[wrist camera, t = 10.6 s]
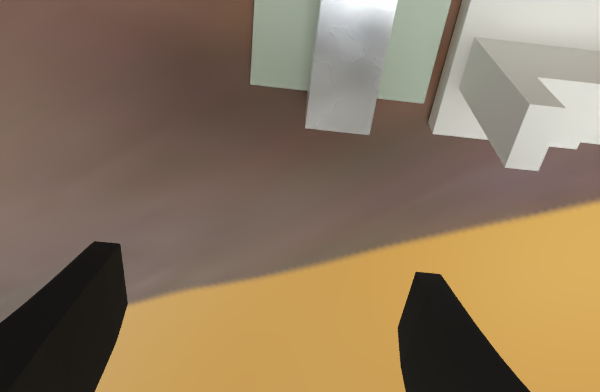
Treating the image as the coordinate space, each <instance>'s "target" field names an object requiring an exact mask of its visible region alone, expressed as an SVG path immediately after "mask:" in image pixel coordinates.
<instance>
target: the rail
mask: <svg viewBox="0 0 600 392" xmlns="http://www.w3.org/2000/svg"><path fill="white" fill-rule="evenodd" d="M397 1H398V0H318V8H317V17H316V25H315V33H314V41H313V49H312V57H311V65H310V73H309V81H308V89H307V97H306V113H305V128H307V129H317V130H326V131H335V132H345V133H354V134H363V135H369V134H370V130H371V125H372V120H373V115H374V110H375V106H376V101H377V96H378V91H379V87H380V82H381V77H382V72H383V68H384V63H385V58H386V53H387V48H388V44H389V39H390V34H391V29H392V25H393V20H394V15H395V10H396V6H397Z"/></svg>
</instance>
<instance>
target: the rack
mask: <svg viewBox="0 0 600 392" xmlns="http://www.w3.org/2000/svg"><path fill="white" fill-rule="evenodd" d="M428 124H429V126H430V129H431V131H432V134H438V135H448V136H457V137H466V138H476V139H485V140H489V142H490V143H491V145H492V147H493V148H494V150H495V152H496V153H497V155H498V157H499V159H500V160H501V162H502V164H503V165H504V167H506V168H515V169H525V170H534V171H538V170H539V168H540V166H541V164H542V161H543V159H544V157H545V155H546V152H547V150H548V148H549V146H551V147H560V148H569V149H577V148H578V145H579V143H580V142H583V143H592V144H600V0H462V2H461V6H460V10H459V13H458V17H457V20H456V24H455V27H454V31H453V35H452V38H451V42H450V45H449V49H448V53H447V56H446V60H445V63H444V67H443V71H442V74H441V78H440V81H439V85H438V88H437V92H436V96H435V99H434V103H433V106H432V110H431V114H430V117H429V121H428Z"/></svg>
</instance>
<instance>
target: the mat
mask: <svg viewBox="0 0 600 392" xmlns="http://www.w3.org/2000/svg"><path fill="white" fill-rule="evenodd" d="M450 4H451V0H398V1H397V6H396V10H395V15H394V20H393V25H392V29H391V34H390V39H389V44H388V48H387V53H386V58H385V63H384V68H383V72H382V77H381V82H380V87H379V91H378V96H377V99H387V100H396V101H405V102H414V103H423V104H424V101H425V97H426V93H427V90H428V86H429V82H430V78H431V75H432V71H433V67H434V63H435V60H436V56H437V52H438V49H439V45H440V41H441V37H442V34H443V30H444V26H445V22H446V19H447V15H448V11H449V7H450ZM317 8H318V0H255V2H254V20H253V39H252V58H251V77H250V85H258V86H268V87H277V88H286V89H295V90H304V91H307V89H308V81H309V73H310V65H311V57H312V49H313V41H314V33H315V25H316V17H317Z"/></svg>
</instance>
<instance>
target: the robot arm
mask: <svg viewBox="0 0 600 392" xmlns="http://www.w3.org/2000/svg"><path fill="white" fill-rule="evenodd" d="M127 304H128V302H127V294H126V286H125V278H124V270H123V262H122V254H121V246H120V244H117V243H106V242H96V241H94V242H93V243H92V244H91V245H89V246H88V247H87V248H86V249H85V250H84V251H83V252H82V253H81V254H80V255H78V256H77V257H76V258H75V259H74V260H73V261H72V262H71V263H70V264H69V265H68V266H67V267H65V268H64V269H63V270H62V271H61V272H60V273H59V274H58V275H57V276H55V277H54V278H53V279H52V280H51V281H50V282H49V283H48V284H46V285H45V286H44V287H43V288H42V289H41V290H40V291H38V292H37V293H36V294H35V295H34V296H33V297H31V298H30V299H29V300H28V301H27V302H26V303H24V304H23V305H22V306H21V307H20V308H18V309H17V310H16V311H15V312H13V313H12V314H11V315H10V316H8V317H7V318H6V319H5V320H3V321H2V322H1V323H0V392H95V390H96V387H97V385H98V383H99V380H100V378H101V376H102V374H103V372H104V369H105V367H106V365H107V362H108V360H109V358H110V355H111V353H112V351H113V348H114V346H115V343H116V341H117V338H118V335H119V331H120V328H121V325H122V321H123V318H124V314H125V311H126V307H127ZM398 337H399V351H400V362H401V369H402V375H403V380H404V385H405V390H406V392H530V391H529V390H528V389H527V387H526V386H525V385H524V384H523V383H522V382H521V381H520V379H519V378H518V377H517V376H516V375H515V374H514V372H513V371H512V370H511V369H510V368H509V366H508V365H507V364H506V363H505V362H504V360H503V359H502V358H501V357H500V356H499V354H498V353H497V352H496V351H495V349H494V348H493V346H492V345H491V344H490V343H489V341H488V340H487V338H486V337H485V336H484V335H483V333H482V332H481V331H480V329H479V328H478V327H477V325H476V324H475V323H474V322H473V320H472V318H471V317H470V316H469V314H468V313H467V311H466V310H465V308H464V307H463V306H462V304H461V303H460V301H459V300H458V298H457V297H456V296H455V294H454V293H453V292H452V290H451V288H450V287H449V286H448V284H447V283H446V281H445V280H444V279H443V277H442V276H441V275H440V274H433V273H422V272H416V273H415V276H414V279H413V282H412V285H411V289H410V292H409V295H408V298H407V301H406V304H405V307H404V310H403V313H402V316H401V319H400V323H399V326H398Z"/></svg>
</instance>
